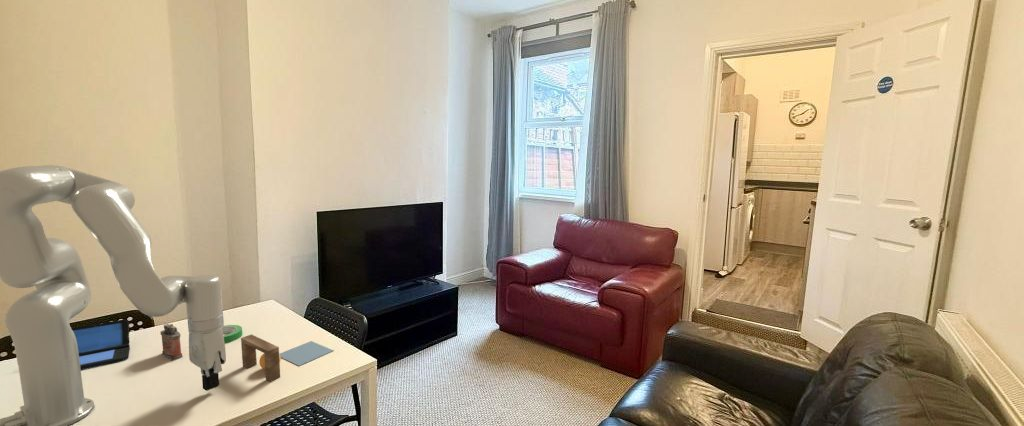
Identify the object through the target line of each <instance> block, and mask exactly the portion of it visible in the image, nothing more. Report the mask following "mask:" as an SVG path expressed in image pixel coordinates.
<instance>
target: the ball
mask: <svg viewBox="0 0 1024 426" xmlns="http://www.w3.org/2000/svg"><path fill="white" fill-rule="evenodd" d="M281 359H282V358H281V357H280V355H279V362H280V363H281ZM259 365H260V367H261V368H262V369H263V370H265V355H264V353H263V354H262V355H261V356H260V358H259Z"/></svg>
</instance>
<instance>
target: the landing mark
mask: <svg viewBox="0 0 1024 426" xmlns="http://www.w3.org/2000/svg"><path fill="white" fill-rule="evenodd" d="M334 350H335V349H331V348H329V347H326V346H324V345H322V344H319V343H317V342H314V341H313V340H310V341H308V342H305V343H303V344H300V345H298V346H296V347H293V348H291V349H287V350H285V351H283V352H279V355H280V357H281V359H283V360H285V361H287V362H289V363H291V364H293V365H296V366H298V367H301V366H302V365H304V364H308V363H310V362H312V361H314V360H316V359H319V358H320V357H323V356H326V355H328V354H330V353H332V352H334Z"/></svg>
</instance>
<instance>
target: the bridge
mask: <svg viewBox="0 0 1024 426" xmlns="http://www.w3.org/2000/svg"><path fill="white" fill-rule="evenodd" d="M240 343H241V346H240V347H241V359H242V361H241V363H242V368H244V369H250V368H252V367H253V366H256V365H257V361H258V359H257V351H259V352H261V353H263V354H264V355H265V369H264V370H265V380H266V381H268V382H272V381H274V380H277V379H279V378H281V367H280V366H281V365H280V364H281V361H280V362H279V354H280V348H279V346H278V345H275V344H273V343H271V342H269V341H267V340H264V339H262V338H260V337H258V336H257V335H253V334H248V335H246V336H241V337H240Z"/></svg>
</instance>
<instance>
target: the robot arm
mask: <svg viewBox="0 0 1024 426" xmlns="http://www.w3.org/2000/svg"><path fill="white" fill-rule="evenodd" d="M54 202H60V203H64V204H66V205H67V204H68V205H71V208H72V211H74V213H75V214H76V216H77V217H78V218H79V220H80V221H81V222H82V224H84V226H85V227H86V229H87V230H89V232H90V233H91V235H92V236H93V237H94V238H95V239H96V241H97V242H98V243H99V244H100V246H101V247H102V248H103V249H104V251H105V252H106V254H107V255H108V256H109V259H110V264H111V268H112V272H113V274H114V277H115V280H116V283H117V284H118V286H119V289H120V290H121V291H122V293H123V294H124V295H125V296H126V298H127V299H128V300H129V302H131V304H132V305H133V307H134V308H136V309H137V310H138V311H140V313H142V314H144V315H146V316H148V317H152V318H153V317H154V318H159V317H160V318H161V317H163V316H166V315H168V314H170V313H172V312H173V311H174V310H175V309H176V308H177V307H178V306H179V305H181V304H183V303H184V304H186V315H187V316H186V317H187V327H188V328H187V329H188V359H189V361H190V363H191V364H193V365H195V366H196V367H198V368H200V374H201V380H202V383H201V384H202V390H205V392H207V391H211V390H212V389H215V388H217V387H219V386H220V380H219V379H220V378H219V375H220V374H219V373H221V372H222V371H223V368H222V365H224V364H225V363H226V361H227V357H226V356H227V355H226V354H227V352H226V343H224V336H223V335H224V333H223V331H222V327H223V326H225V323H224V310H223V309H224V308H223V293H222V292H223V291H222V282H221V278H220V277H219V276H218V275H213V274H200V275H197V276H189V275H188V276H187V275H168V276H164V277H160V276H159V274H158V273H157V271H156V269H155V267H154V265H153V262H152V257H151V249H152V238H151V235H150V234H149V233H148V231H147V230H146V229H145V227H144V226H143V224H142V223H141V222H140V221H139V219H138V218H137V217H136V215H135V214H134V213H133V211H132V209H133V207H134V205H135V202H136V198H135V196H134V193H133V191H132V190H131V189H129V188H128V187H127V186H126V185H124V184H121V183H120V182H118V181H113V180H110V179H106V178H104V177H101V176H100V177H99V176H96V175H93V174H90V173H86V172H82V171H80V170H76V169H73V168H70V167H65V166H61V165H53V164H51V165H49V164H48V165H29V166H27V165H26V166H18V167H12V168H11V167H10V168H8V169H3V170H0V280H1V281H2V282H3V283H4V284H5V285H6V286H9V287H11V288H16V289H26V288H31V287H32V288H33V287H35V288H36V289H35V290H33V291H31V292H29V293H26V294H25V295H23V296H21V297H19V298H17V300H15V301H14V302H13V303H12V304H11V305H10V306H9V307H8V310H7V311H6V314H5V317H4V322H5V325H6V326H5V327H6V329H7V331H8V333H9V335H10V337H11V338H10V339H11V340H12V343H13V346H14V350H15V356H16V361H17V365H18V366H17V367H18V371H19V372H18V373H19V379H20V386H21V393H22V394H21V395H22V399H23V400H22V401H23V405H21V406H19V411H16V412H14V414H13V415H9V416H7V417H3V418H0V426H70V425H72V424H74V423H77V422H78V421H80V420H82V419H84V418H85V417H87V416H88V415H90V413H92V411H93V410H94V409H95V402H94V400H93V399H90V398H88V397H86V398H85V392H84V386H83V385H84V384H83V377H82V370H81V368H80V360H79V352H78V346H77V340H76V337H75V334H74V332H73V331H72V329H71V328H72V327H71V326H70V324H71V323H70V320H71V319H73V318H74V317H76V316H77V315H79V314H80V313H81V312H83V311H84V310H85V309H86V308H87V307H88V305H89V304H90V302H91V299H92V292H91V287H90V285H89V281H88V278H87V274H86V272H85V269H84V264H83V263H82V260H81V256H80V254H79V253H78V250H76V248H75V247H74V246H73V245H72V244H70V243H69V242H67V241H66V240H63V239H60V238H57V237H55V238H54V237H47V236H46V232H45V229H44V226H43V224H42V222H41V220H40V219H39V217H38V216H37V215H36V214H35V213H34V212H33V210H32V208H33V207H34V206H36V205H37V206H38V205H40V204H41V205H42V204H47V203H54Z"/></svg>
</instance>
